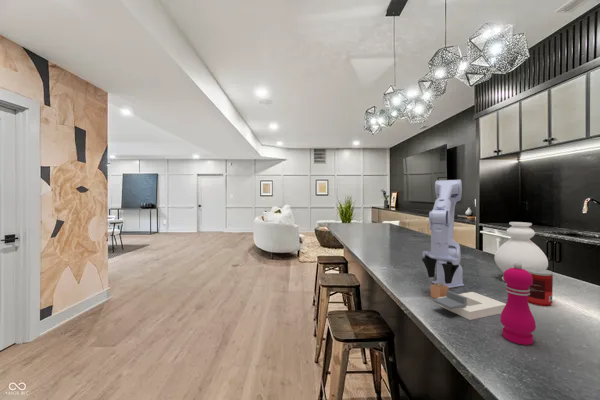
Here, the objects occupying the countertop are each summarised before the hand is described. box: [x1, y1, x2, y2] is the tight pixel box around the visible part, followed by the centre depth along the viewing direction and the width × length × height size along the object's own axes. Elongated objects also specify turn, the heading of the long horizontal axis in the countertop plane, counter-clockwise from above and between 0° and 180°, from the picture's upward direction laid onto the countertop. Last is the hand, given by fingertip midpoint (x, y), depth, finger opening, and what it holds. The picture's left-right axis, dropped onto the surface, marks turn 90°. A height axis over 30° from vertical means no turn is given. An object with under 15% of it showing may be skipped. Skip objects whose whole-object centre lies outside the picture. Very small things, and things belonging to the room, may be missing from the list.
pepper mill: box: [499, 262, 537, 346], centre depth 72 cm, size 7×7×20 cm
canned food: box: [524, 268, 554, 307], centre depth 95 cm, size 8×8×11 cm
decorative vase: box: [494, 221, 549, 282], centre depth 117 cm, size 18×18×25 cm
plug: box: [430, 283, 450, 299], centre depth 100 cm, size 4×4×5 cm
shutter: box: [432, 290, 467, 310], centre depth 88 cm, size 7×7×3 cm
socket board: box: [437, 291, 506, 321], centre depth 91 cm, size 16×12×2 cm
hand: (439, 280), depth 100 cm, fingers open, 7 cm apart
